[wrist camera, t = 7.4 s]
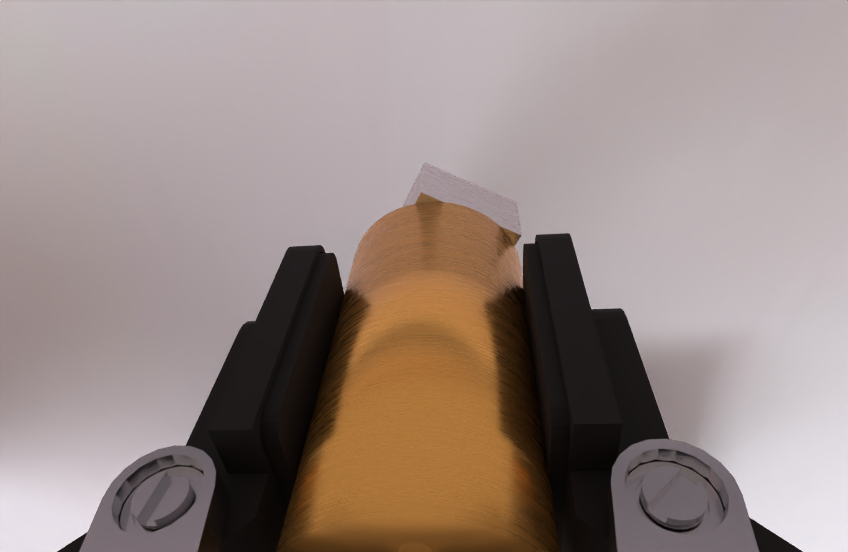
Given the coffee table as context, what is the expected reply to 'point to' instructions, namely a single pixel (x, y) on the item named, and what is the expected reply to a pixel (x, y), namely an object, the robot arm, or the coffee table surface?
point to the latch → (428, 391)
